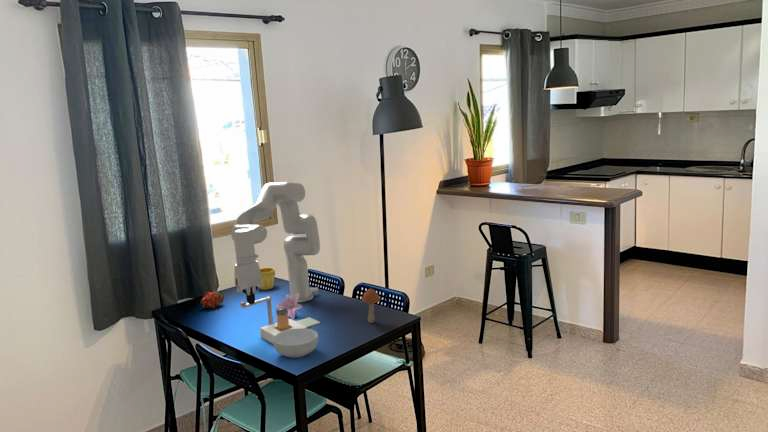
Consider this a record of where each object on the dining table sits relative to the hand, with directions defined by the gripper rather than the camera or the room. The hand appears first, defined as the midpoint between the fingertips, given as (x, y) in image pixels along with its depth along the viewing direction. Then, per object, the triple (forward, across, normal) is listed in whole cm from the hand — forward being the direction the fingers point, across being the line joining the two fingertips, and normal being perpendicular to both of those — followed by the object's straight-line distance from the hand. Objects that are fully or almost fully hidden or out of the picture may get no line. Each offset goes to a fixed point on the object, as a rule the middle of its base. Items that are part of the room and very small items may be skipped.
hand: (251, 303), depth 240 cm
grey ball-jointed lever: (+2, -4, -3) cm, 5 cm away
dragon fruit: (+16, -3, -52) cm, 55 cm away
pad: (+16, -23, +2) cm, 28 cm away
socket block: (+15, -9, +5) cm, 19 cm away
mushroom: (+16, -44, +22) cm, 52 cm away
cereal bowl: (+15, -4, +27) cm, 31 cm away
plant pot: (+17, -36, -60) cm, 72 cm away
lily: (+16, -24, -13) cm, 31 cm away
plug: (+15, -9, +8) cm, 19 cm away
